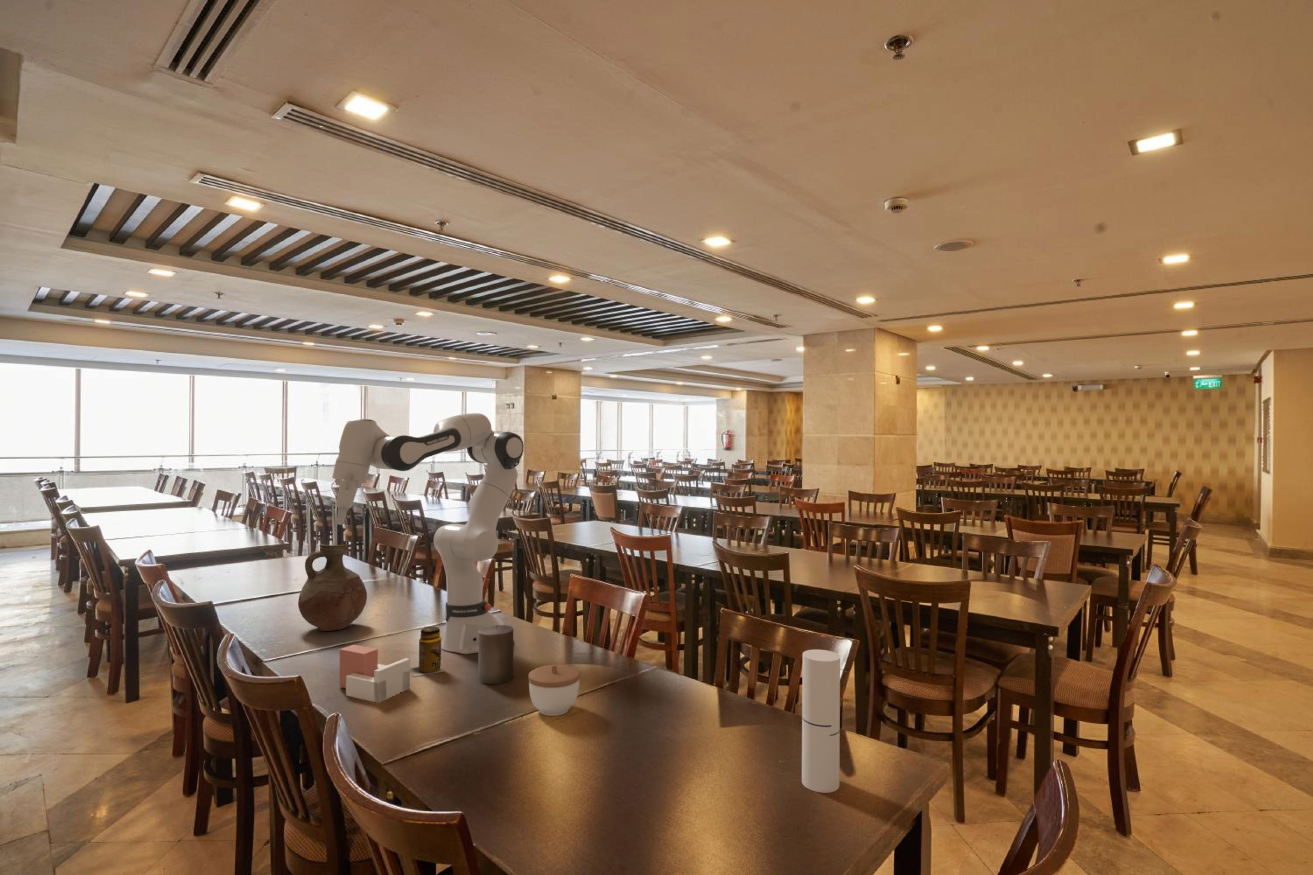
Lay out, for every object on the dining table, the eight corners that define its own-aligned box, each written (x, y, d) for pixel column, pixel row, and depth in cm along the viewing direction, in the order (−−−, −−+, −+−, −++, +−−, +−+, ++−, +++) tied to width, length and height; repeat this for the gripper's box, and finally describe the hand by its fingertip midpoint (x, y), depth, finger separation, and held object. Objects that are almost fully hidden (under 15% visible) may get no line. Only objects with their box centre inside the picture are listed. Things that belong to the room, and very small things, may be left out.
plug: (339, 686, 177) (339, 649, 177) (353, 680, 181) (353, 644, 181) (363, 691, 173) (364, 653, 173) (377, 686, 177) (377, 649, 177)
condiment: (444, 671, 190) (445, 629, 190) (414, 677, 185) (414, 634, 185) (438, 664, 196) (438, 623, 196) (408, 669, 191) (408, 628, 192)
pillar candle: (520, 678, 185) (520, 624, 185) (490, 687, 178) (490, 631, 178) (500, 670, 192) (500, 618, 192) (470, 678, 184) (471, 624, 185)
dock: (345, 695, 172) (346, 664, 172) (378, 681, 181) (378, 652, 181) (378, 702, 167) (378, 671, 167) (409, 688, 176) (410, 658, 177)
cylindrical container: (797, 774, 133) (797, 649, 133) (831, 773, 133) (832, 649, 133) (808, 793, 125) (809, 661, 126) (844, 791, 126) (845, 660, 126)
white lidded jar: (588, 703, 167) (588, 660, 167) (565, 723, 155) (565, 676, 155) (543, 697, 171) (544, 654, 171) (518, 716, 159) (518, 670, 160)
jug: (379, 626, 235) (379, 542, 235) (320, 641, 217) (321, 550, 217) (343, 617, 247) (344, 537, 247) (285, 631, 229) (285, 544, 229)
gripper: (362, 474, 176) (352, 526, 174) (362, 478, 195) (352, 524, 192) (337, 470, 174) (325, 523, 171) (339, 474, 192) (329, 521, 190)
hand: (340, 524), depth 182 cm, fingers open, 8 cm apart
